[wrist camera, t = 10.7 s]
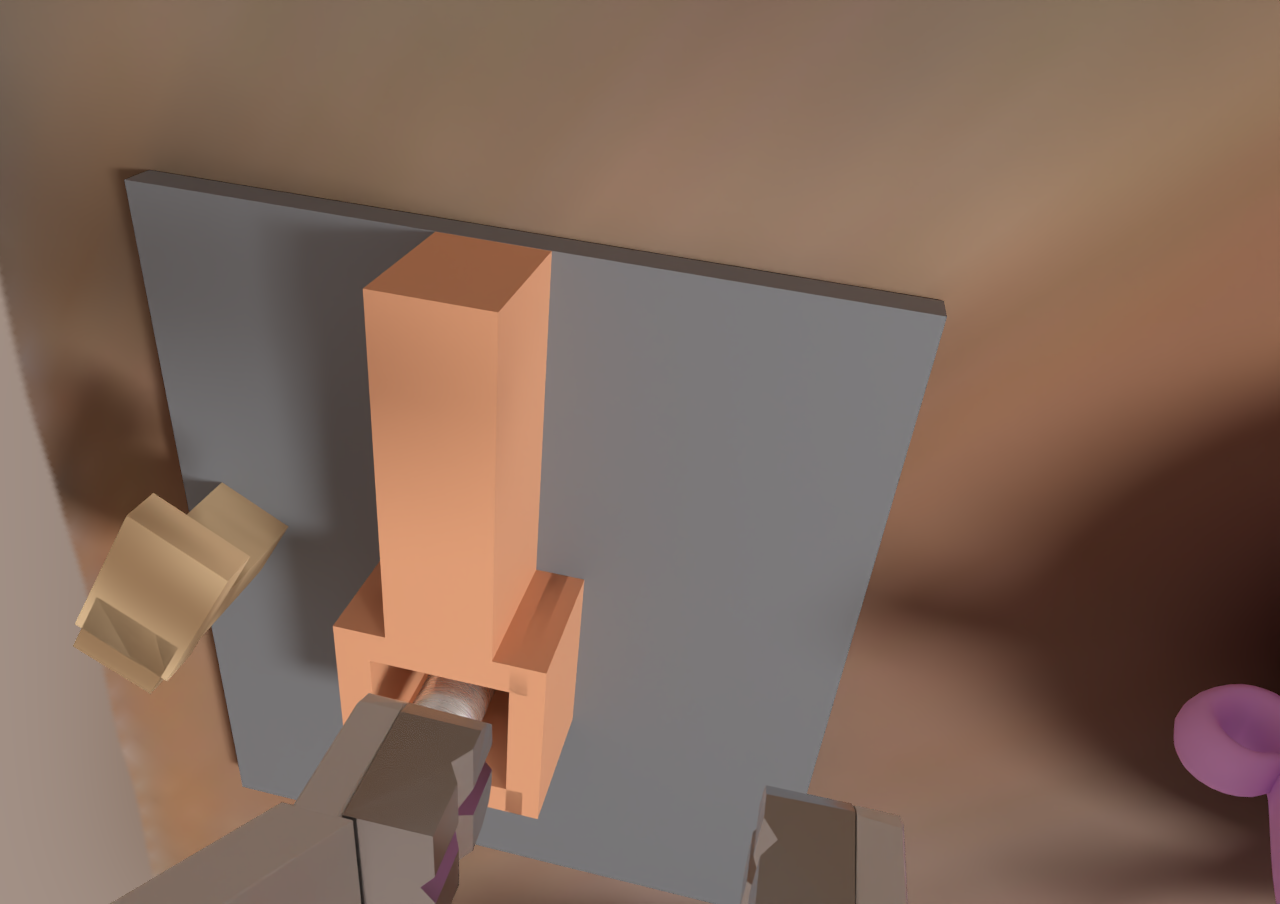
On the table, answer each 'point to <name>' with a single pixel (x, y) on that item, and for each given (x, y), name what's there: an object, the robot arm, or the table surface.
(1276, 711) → the teapot
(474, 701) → the cylinder
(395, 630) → the square column with socket
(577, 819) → the board
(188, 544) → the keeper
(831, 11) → the table surface
